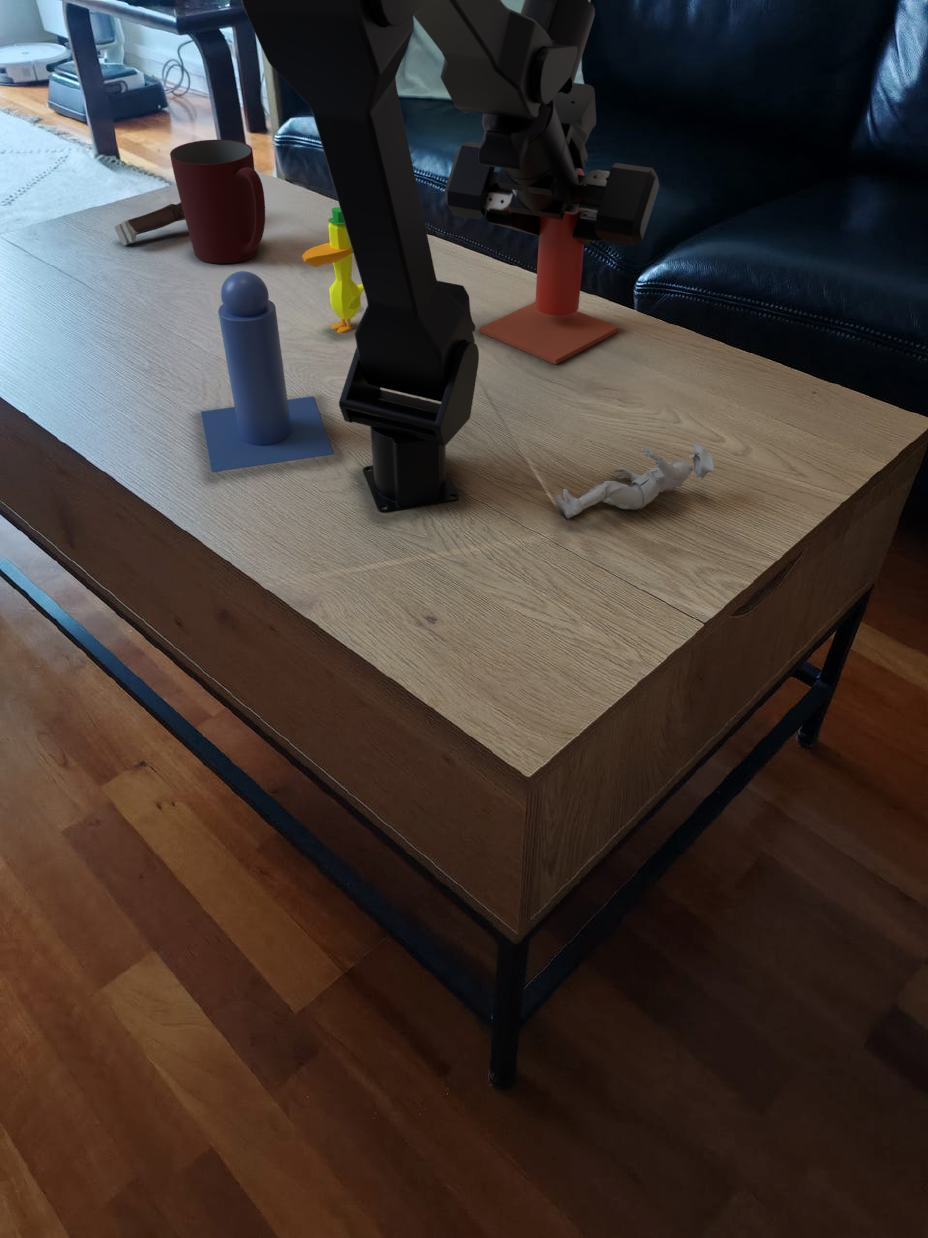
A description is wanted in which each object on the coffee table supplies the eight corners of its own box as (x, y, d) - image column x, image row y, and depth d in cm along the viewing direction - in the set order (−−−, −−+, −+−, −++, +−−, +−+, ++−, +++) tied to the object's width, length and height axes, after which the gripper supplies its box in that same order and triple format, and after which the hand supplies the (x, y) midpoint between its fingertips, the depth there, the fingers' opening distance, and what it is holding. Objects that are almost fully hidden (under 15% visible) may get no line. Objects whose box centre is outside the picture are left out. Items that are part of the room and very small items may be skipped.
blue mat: (334, 458, 81) (334, 453, 80) (212, 477, 78) (211, 471, 78) (314, 400, 88) (313, 395, 87) (201, 416, 86) (200, 411, 85)
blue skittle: (295, 441, 82) (274, 281, 72) (242, 448, 81) (214, 287, 72) (287, 415, 85) (266, 258, 76) (236, 422, 84) (209, 264, 75)
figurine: (152, 275, 113) (259, 234, 120) (143, 233, 109) (254, 193, 116) (116, 244, 116) (222, 206, 123) (106, 202, 112) (216, 165, 119)
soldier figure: (544, 502, 78) (668, 428, 79) (575, 554, 78) (698, 479, 79) (566, 486, 70) (702, 404, 71) (600, 544, 70) (736, 461, 72)
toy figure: (322, 347, 95) (310, 223, 87) (303, 335, 98) (289, 212, 90) (378, 329, 99) (372, 207, 91) (359, 317, 101) (350, 197, 93)
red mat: (555, 364, 93) (555, 359, 93) (479, 332, 98) (479, 327, 98) (618, 331, 99) (619, 326, 98) (543, 302, 104) (543, 297, 103)
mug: (299, 257, 112) (288, 156, 105) (239, 280, 107) (223, 176, 100) (232, 232, 118) (218, 134, 111) (172, 252, 113) (153, 152, 106)
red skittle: (587, 309, 98) (601, 164, 89) (552, 319, 96) (562, 172, 87) (561, 293, 101) (572, 152, 92) (526, 303, 99) (533, 159, 90)
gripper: (669, 65, 77) (684, 171, 92) (457, 42, 83) (503, 145, 98) (628, 198, 77) (649, 283, 92) (418, 165, 83) (470, 250, 98)
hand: (566, 236), depth 95 cm, fingers closed on red skittle, 4 cm apart
